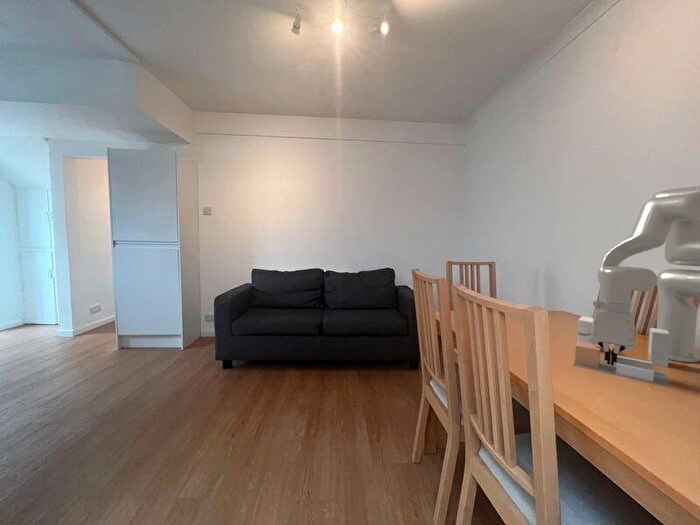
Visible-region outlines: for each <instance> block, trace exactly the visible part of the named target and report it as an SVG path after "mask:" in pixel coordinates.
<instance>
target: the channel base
mask: <svg viewBox="0 0 700 525" xmlns="http://www.w3.org/2000/svg"><path fill="white" fill-rule="evenodd" d="M572 366H573V367H576V368H582V369H587V370H591V371H595V372H600V373H604V374H608V375H612V376H617V377H621V378H626V379H630V380H634V381H640V382H644V383H649V384H653V385H657V386H662V387H666V388H671V387H670V383H669V381H668V377H667V373H665V372H660V371H656V370H653V368H652V367H653V364H652V362H649V361H648V360H647V361H646V360H643V359H642V360H641V359H636V358H633V357H632V358H631V357H626V356H621V355H617V363H615V362H614V366H613V365H611V361H610V364H609V365H608V364H607V361H605V360H602V359H599V367H598V368H594V367H590V366H585V365H581V364H576V363H575V360H574V361H573V364H572Z"/></svg>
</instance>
